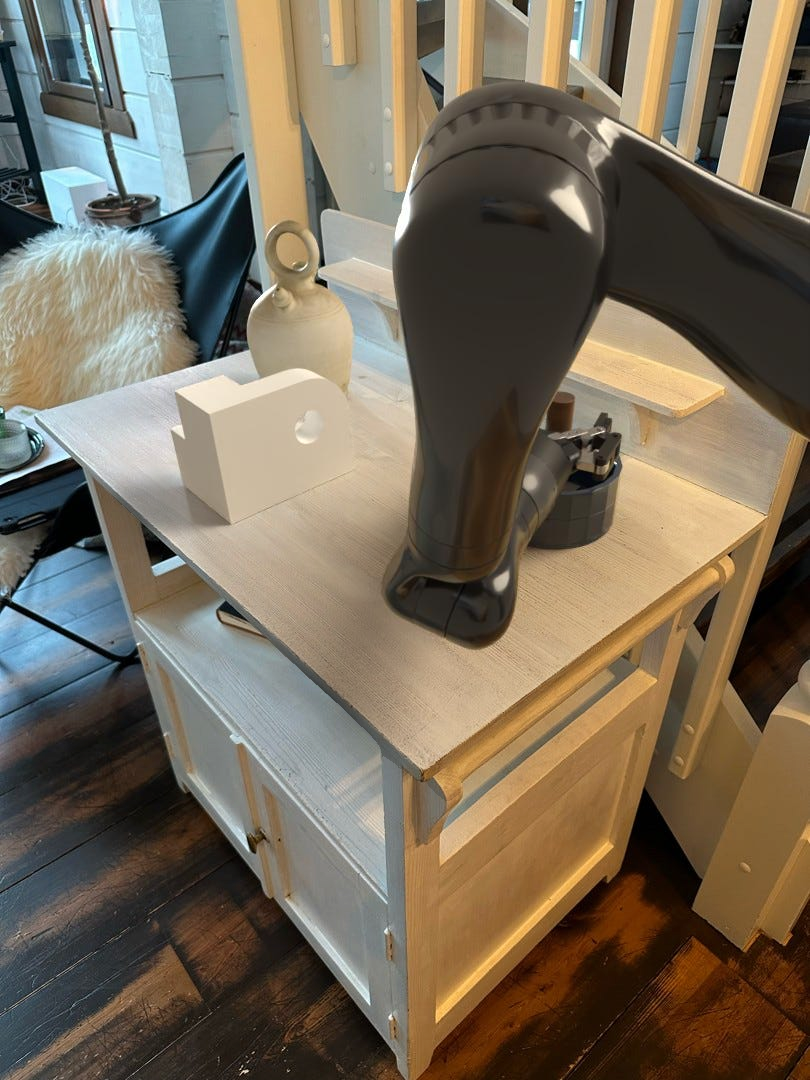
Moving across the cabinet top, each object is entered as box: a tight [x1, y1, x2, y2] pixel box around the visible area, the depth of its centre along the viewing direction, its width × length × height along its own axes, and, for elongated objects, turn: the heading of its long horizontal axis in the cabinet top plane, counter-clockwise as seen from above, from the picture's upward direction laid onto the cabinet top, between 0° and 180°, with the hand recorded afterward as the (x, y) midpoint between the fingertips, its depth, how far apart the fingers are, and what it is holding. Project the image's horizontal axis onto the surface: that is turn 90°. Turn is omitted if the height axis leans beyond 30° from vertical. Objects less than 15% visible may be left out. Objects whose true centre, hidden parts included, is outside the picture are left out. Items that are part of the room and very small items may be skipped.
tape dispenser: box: [169, 368, 355, 525], centre depth 92 cm, size 18×12×14 cm, turn 131°
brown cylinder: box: [544, 391, 581, 492], centre depth 84 cm, size 5×4×14 cm
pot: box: [527, 428, 624, 550], centre depth 86 cm, size 14×14×7 cm
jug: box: [246, 219, 355, 397], centre depth 108 cm, size 15×16×25 cm
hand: (564, 413), depth 83 cm, fingers open, 8 cm apart
